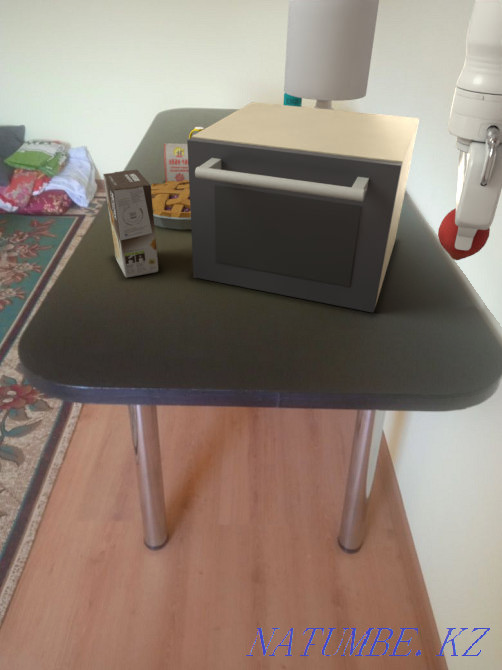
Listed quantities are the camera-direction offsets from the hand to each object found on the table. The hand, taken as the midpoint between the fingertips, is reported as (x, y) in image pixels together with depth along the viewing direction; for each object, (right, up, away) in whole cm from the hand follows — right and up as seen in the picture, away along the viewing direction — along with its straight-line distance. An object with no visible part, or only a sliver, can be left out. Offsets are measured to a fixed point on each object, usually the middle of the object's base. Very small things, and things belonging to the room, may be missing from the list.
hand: (462, 235), depth 64 cm
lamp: (-7, +36, +84) cm, 92 cm away
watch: (-42, +45, +95) cm, 114 cm away
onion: (0, -3, +2) cm, 3 cm away
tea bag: (-44, +26, +68) cm, 86 cm away
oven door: (-22, -7, +22) cm, 32 cm away
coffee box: (-48, +1, +32) cm, 57 cm away
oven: (-16, +3, +36) cm, 40 cm away
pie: (-41, +15, +52) cm, 68 cm away
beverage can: (-13, +52, +106) cm, 119 cm away
